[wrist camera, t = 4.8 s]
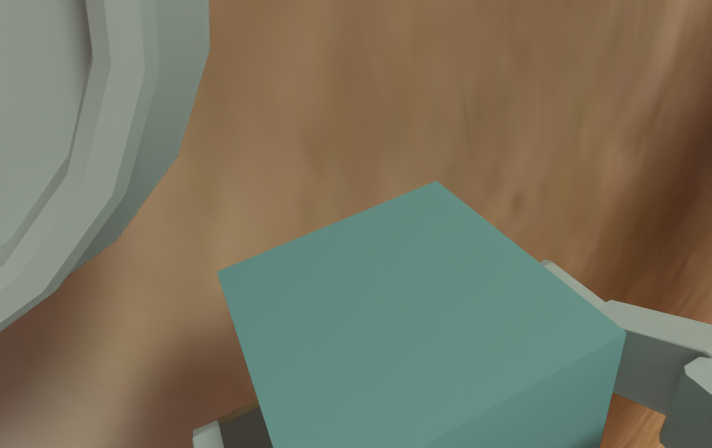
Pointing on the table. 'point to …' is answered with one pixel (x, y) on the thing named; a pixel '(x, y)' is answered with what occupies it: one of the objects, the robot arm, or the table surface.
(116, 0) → the can
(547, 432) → the teal block
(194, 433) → the robot arm
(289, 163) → the table surface
